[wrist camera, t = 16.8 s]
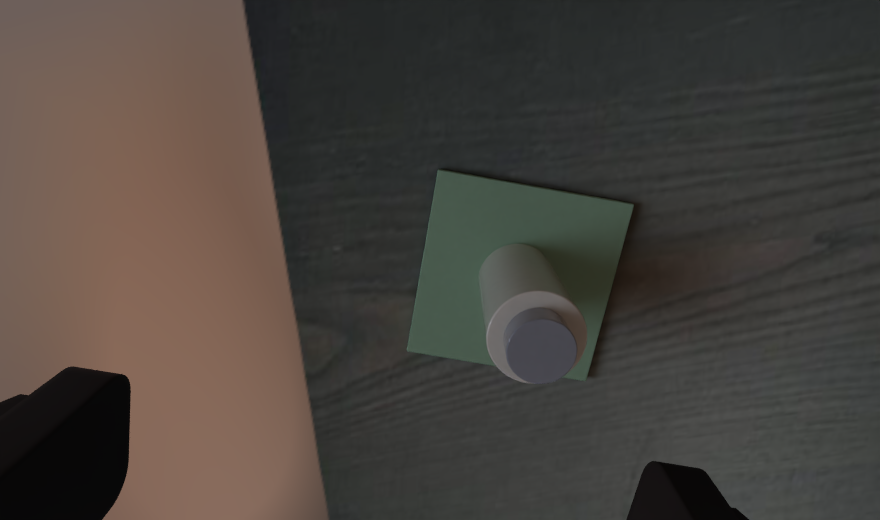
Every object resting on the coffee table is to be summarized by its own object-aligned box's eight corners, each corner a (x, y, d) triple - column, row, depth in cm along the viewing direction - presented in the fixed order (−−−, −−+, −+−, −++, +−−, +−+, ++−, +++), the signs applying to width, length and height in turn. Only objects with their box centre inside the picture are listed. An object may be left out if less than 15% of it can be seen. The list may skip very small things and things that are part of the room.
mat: (407, 347, 38) (406, 351, 37) (438, 168, 34) (437, 169, 34) (584, 377, 38) (586, 381, 37) (631, 202, 35) (634, 204, 34)
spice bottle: (471, 309, 36) (479, 390, 26) (486, 237, 35) (499, 293, 25) (545, 321, 36) (581, 407, 26) (562, 250, 35) (607, 312, 25)
